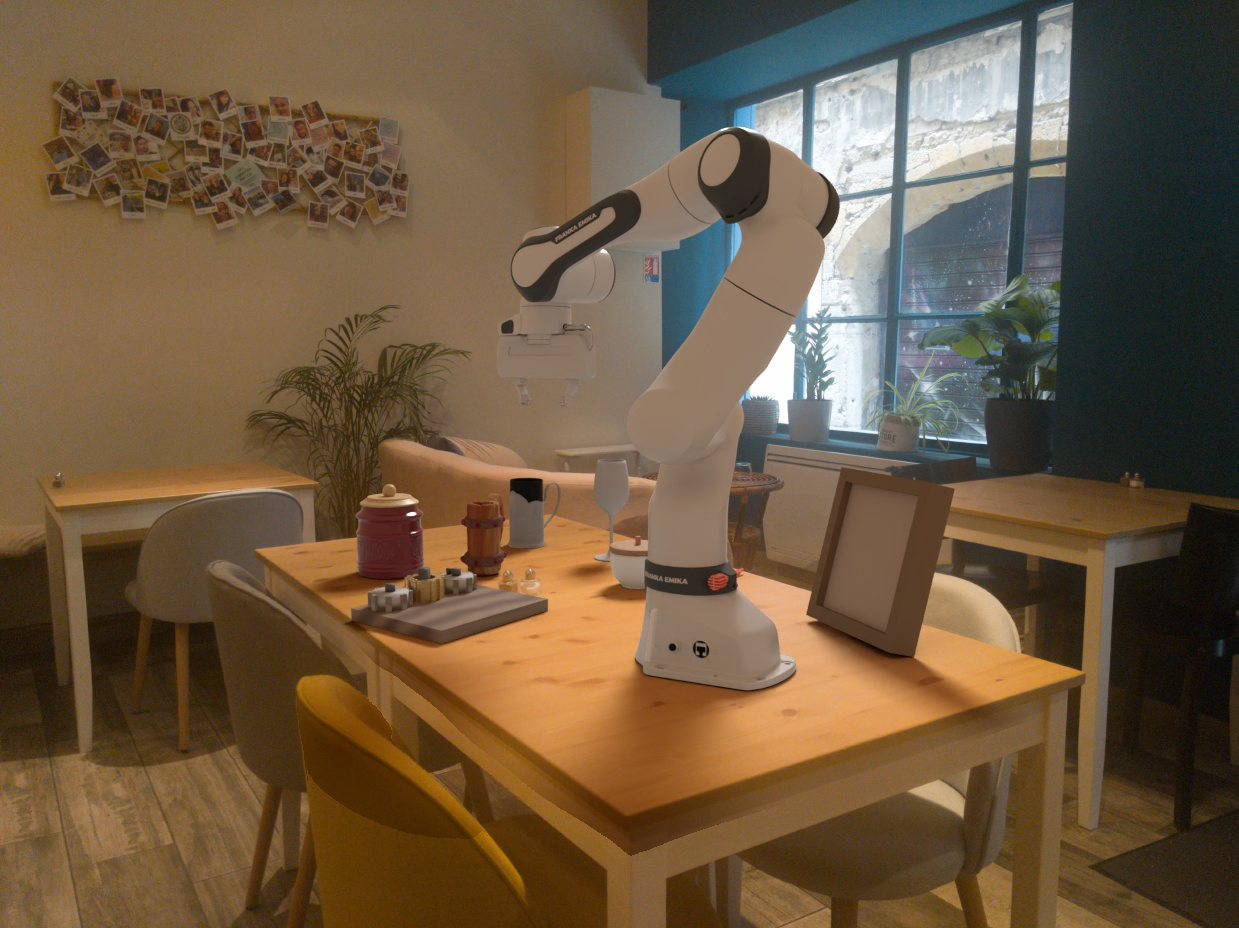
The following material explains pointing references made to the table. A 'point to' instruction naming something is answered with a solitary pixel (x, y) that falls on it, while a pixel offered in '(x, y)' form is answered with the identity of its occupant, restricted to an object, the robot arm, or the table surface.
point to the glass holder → (528, 512)
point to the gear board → (446, 608)
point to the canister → (389, 535)
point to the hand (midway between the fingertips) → (545, 405)
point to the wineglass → (611, 491)
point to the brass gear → (426, 587)
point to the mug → (484, 536)
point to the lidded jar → (629, 562)
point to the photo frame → (880, 558)
